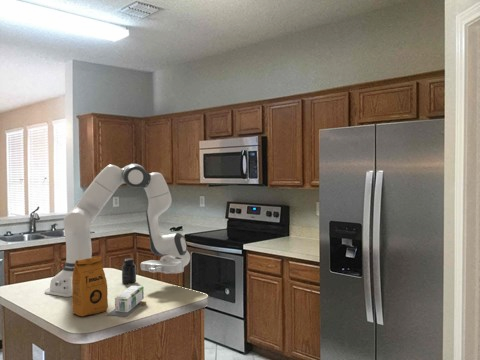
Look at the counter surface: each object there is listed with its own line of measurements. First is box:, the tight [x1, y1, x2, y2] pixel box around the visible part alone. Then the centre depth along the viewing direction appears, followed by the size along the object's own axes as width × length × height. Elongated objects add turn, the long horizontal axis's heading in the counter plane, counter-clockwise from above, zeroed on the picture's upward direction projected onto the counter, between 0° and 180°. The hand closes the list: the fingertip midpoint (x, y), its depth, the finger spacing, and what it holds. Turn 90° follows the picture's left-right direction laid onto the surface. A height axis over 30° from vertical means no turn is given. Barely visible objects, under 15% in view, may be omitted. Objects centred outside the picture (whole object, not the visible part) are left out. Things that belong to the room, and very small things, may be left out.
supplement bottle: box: [121, 257, 137, 285], centre depth 206 cm, size 7×7×12 cm
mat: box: [106, 305, 142, 317], centre depth 166 cm, size 8×13×1 cm, turn 168°
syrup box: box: [114, 285, 145, 312], centre depth 169 cm, size 6×6×14 cm
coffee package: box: [71, 255, 109, 317], centre depth 163 cm, size 10×12×22 cm
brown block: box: [137, 300, 147, 306], centre depth 173 cm, size 10×1×1 cm, turn 78°
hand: (151, 270), depth 185 cm, fingers closed
